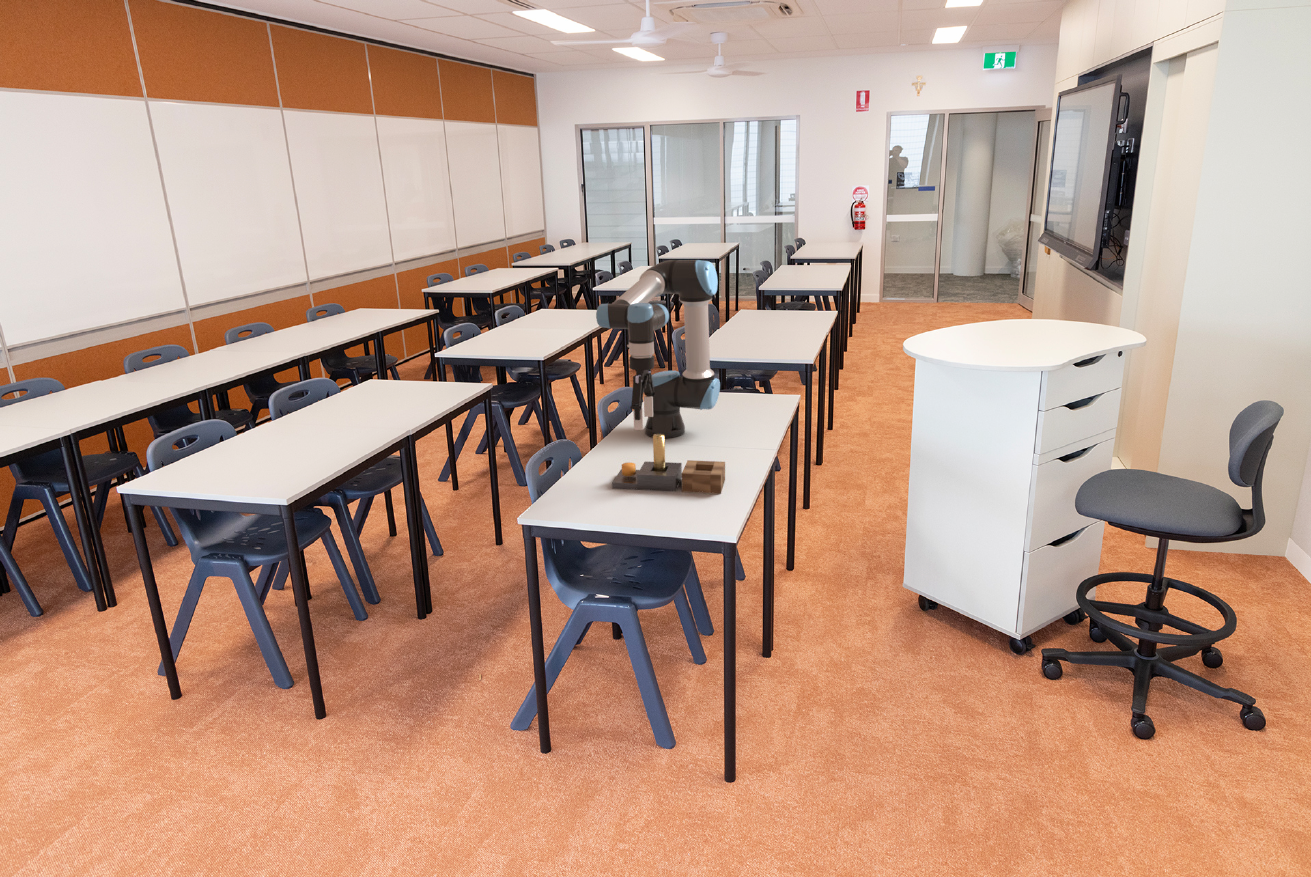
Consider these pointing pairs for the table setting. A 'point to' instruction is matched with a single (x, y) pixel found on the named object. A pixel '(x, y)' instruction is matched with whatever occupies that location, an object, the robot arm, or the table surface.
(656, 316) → the robot arm
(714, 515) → the table surface
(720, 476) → the wooden peg hole block
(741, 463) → the table surface
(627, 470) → the release button
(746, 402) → the table surface
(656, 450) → the gold metal bar
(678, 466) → the socket
